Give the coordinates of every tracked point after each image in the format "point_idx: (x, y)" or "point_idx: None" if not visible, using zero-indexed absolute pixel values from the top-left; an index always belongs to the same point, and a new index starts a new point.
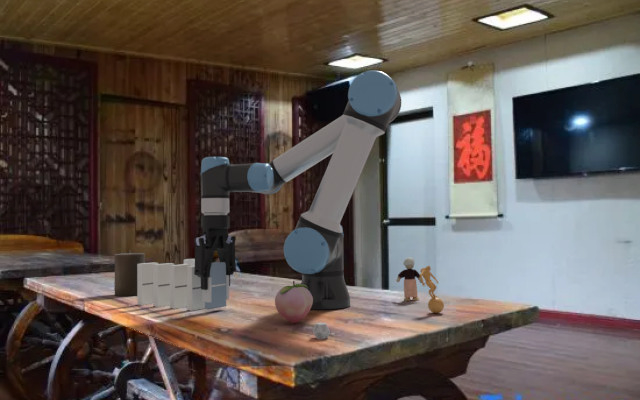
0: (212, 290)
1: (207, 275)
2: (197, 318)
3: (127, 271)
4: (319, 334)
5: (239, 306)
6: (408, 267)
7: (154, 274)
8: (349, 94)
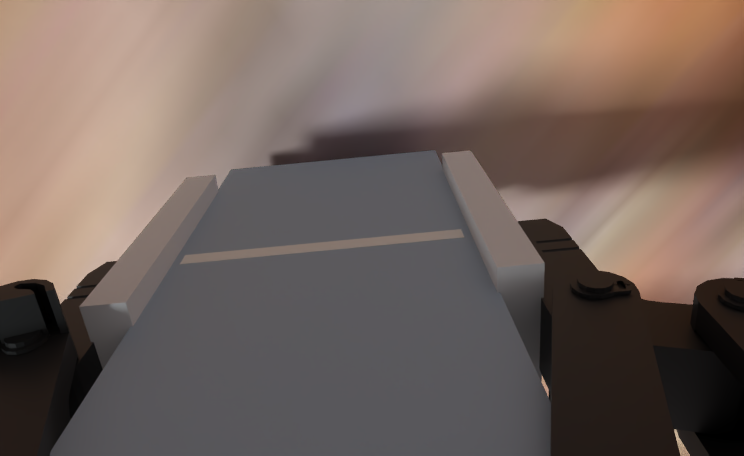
0: (425, 213)
1: (603, 278)
2: (685, 11)
3: None
4: None
5: (38, 216)
6: None
7: None
8: None
